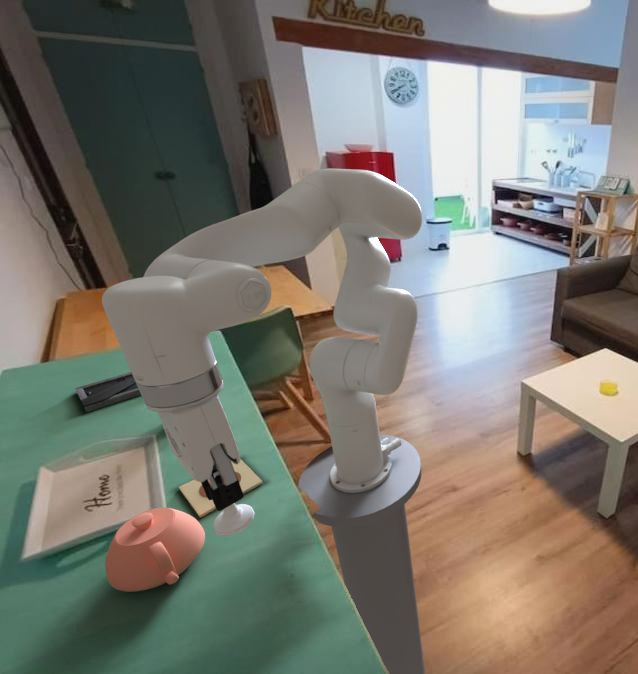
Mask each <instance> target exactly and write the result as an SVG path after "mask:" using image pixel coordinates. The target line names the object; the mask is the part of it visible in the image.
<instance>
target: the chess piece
mask: <svg viewBox="0 0 638 674" xmlns="http://www.w3.org/2000/svg"><path fill="white" fill-rule="evenodd" d="M217 475H219V472H218V471H217V472H215V473H213V476H214V478H215V476H217ZM255 516H256V513H255V510H254V509H253V507H252V506H251V505H249V504H245V503H240V504H236V502H235V503H234V504H232V505H230V506H228V507H227V508H225V509H223V510H221V511H220V513H219V514H218V515H217V516H216V517H215V519H214V520H213V523H212V528H213V532H214V533H215V534H216V535H217V536H220V537H227V536H233V535H236V534H238V533H240V532H242V531H244V530H245V529H247V527H248V526H251V524H252V522H253V521H254V519H255Z"/></svg>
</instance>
